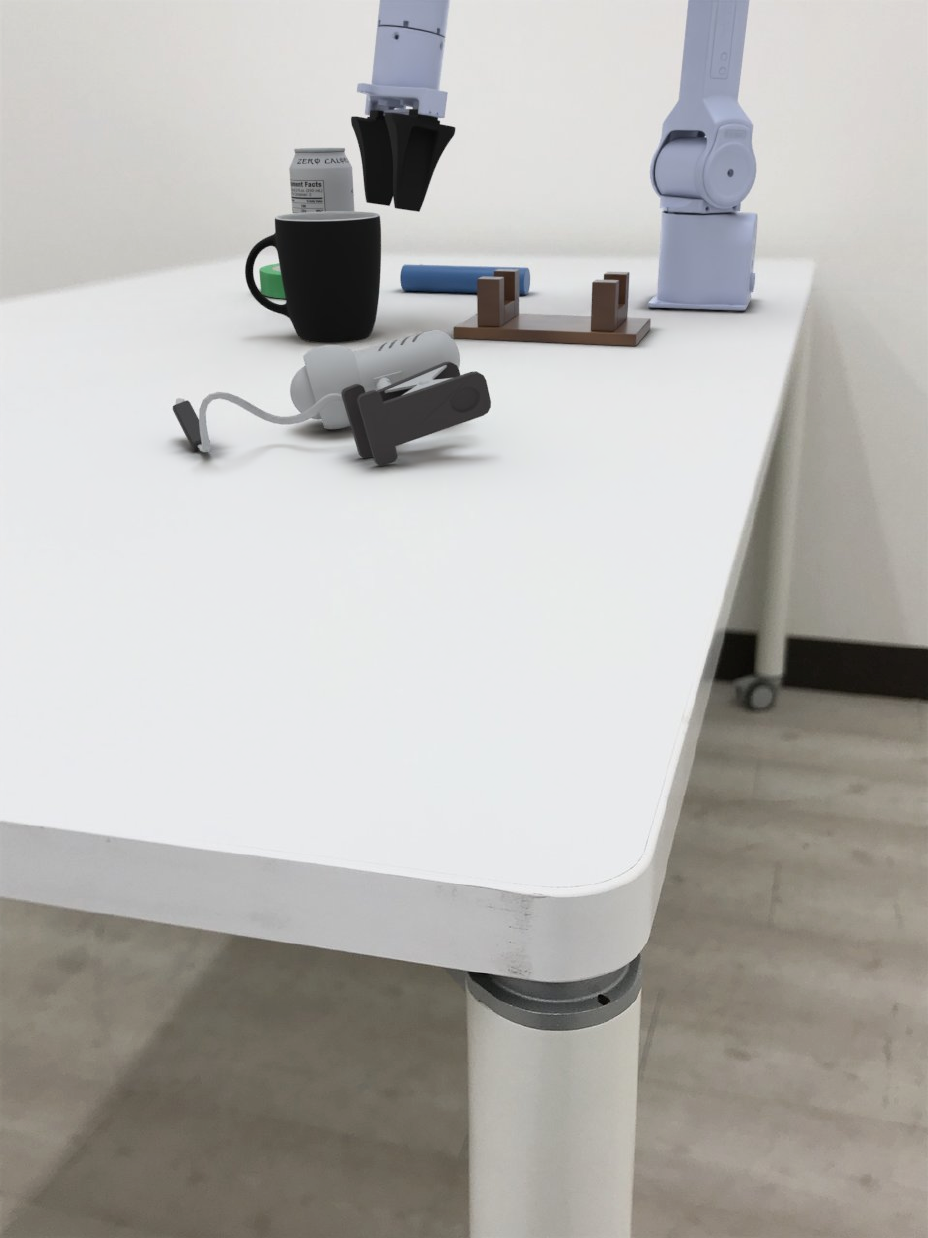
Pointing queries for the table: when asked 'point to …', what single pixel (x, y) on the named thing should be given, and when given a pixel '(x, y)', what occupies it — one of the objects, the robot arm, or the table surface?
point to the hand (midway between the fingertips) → (392, 207)
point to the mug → (325, 273)
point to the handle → (453, 278)
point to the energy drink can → (321, 180)
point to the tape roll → (271, 281)
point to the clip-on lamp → (371, 394)
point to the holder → (506, 323)
